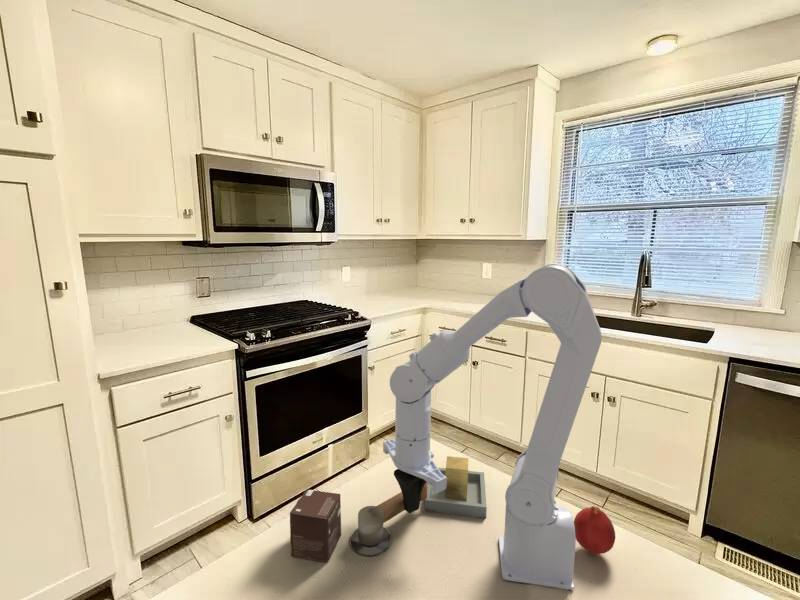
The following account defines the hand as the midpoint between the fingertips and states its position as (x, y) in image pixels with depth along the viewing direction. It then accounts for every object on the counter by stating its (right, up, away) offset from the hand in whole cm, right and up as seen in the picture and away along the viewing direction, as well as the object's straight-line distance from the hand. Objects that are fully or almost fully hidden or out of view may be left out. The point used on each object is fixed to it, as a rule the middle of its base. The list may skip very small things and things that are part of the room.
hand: (411, 509), depth 66 cm
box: (-15, -3, -5) cm, 16 cm away
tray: (+9, -2, +8) cm, 12 cm away
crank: (-3, -2, 0) cm, 3 cm away
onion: (+28, -4, -5) cm, 28 cm away
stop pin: (+9, -1, +8) cm, 12 cm away
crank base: (-7, -3, -4) cm, 8 cm away
